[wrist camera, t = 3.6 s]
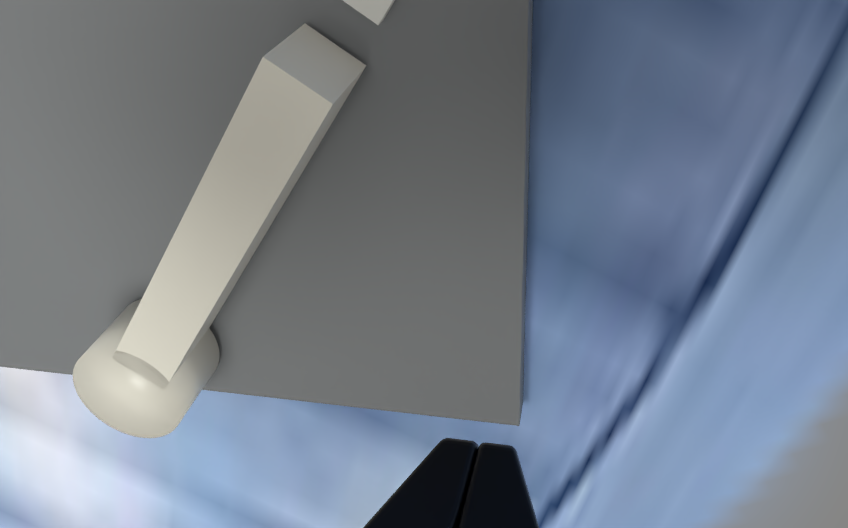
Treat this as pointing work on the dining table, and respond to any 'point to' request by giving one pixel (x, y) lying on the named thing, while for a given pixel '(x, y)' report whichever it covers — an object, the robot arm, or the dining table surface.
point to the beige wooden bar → (216, 240)
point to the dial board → (304, 207)
